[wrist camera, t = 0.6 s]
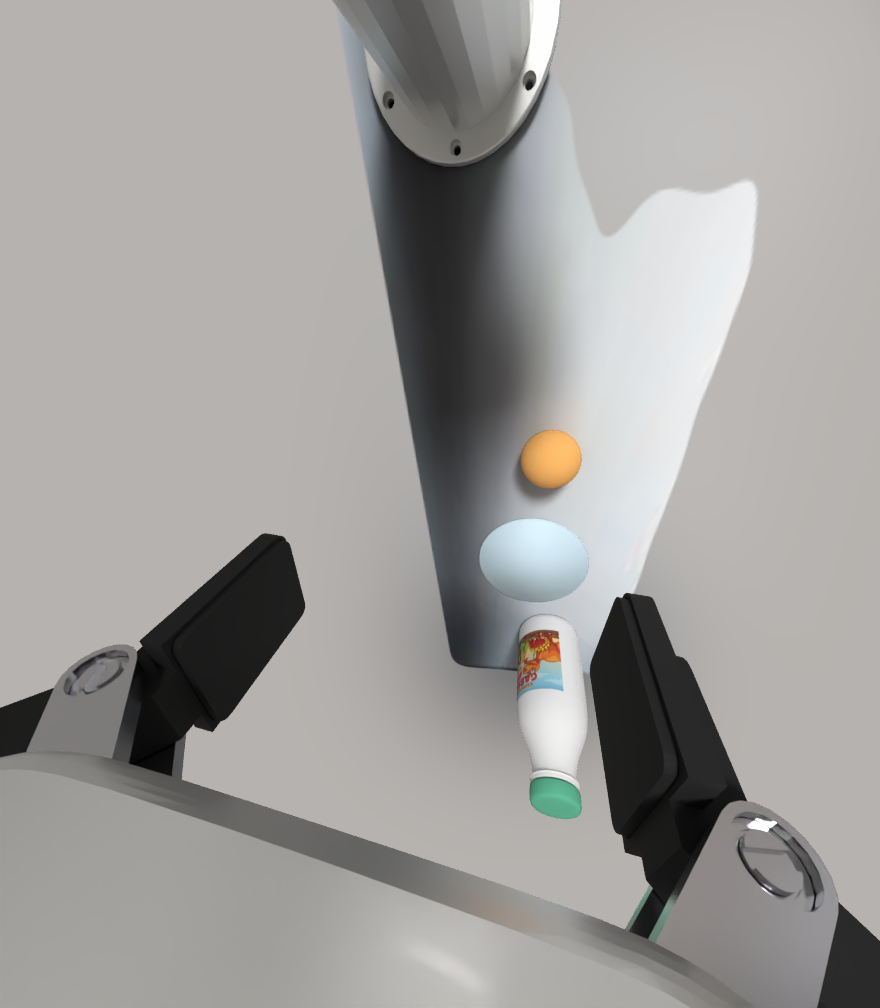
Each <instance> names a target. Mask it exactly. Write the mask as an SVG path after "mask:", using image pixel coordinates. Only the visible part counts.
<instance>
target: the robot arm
mask: <svg viewBox="0 0 880 1008" xmlns="http://www.w3.org/2000/svg"><path fill="white" fill-rule="evenodd" d="M333 2H334V3H335V5H336V6H337V8H338V9H339V11H340V12H341V13H342V15H343V16H344V18H345V19H346V21H347V22H348V24H349V25H350V27H351V28H352V29H353V31H354V32H355V34H356V35H357V37H358V38H359V40H360V41H361V42H362V44H363V46H364V53H365V60H366V66H367V72H368V76H369V79H370V83H371V87H372V90H373V94H374V96H375V99H376V101H377V103H378V106H379V108H380V110H381V113H382V115H383V117H384V118H385V120H386V121H387V123H388V125H389V126H390V128H391V129H392V131H393V132H394V134H395V135H396V136H397V137H398V138H399V140H400V141H401V142H402V143H403V144H404V145H405V146H406V147H407V148H408V149H410V150H411V151H412V152H413V153H414V154H415V155H416V156H418V157H420V158H422V159H424V160H426V161H428V162H430V163H432V164H436V165H440V166H445V167H459V166H465V165H469V164H472V163H475V162H478V161H480V160H482V159H484V158H486V157H487V156H489V155H491V154H493V153H494V152H495V151H497V150H498V149H499V148H500V147H501V146H502V145H504V144H505V143H506V142H507V141H508V140H509V139H510V138H511V137H512V136H513V135H514V133H515V132H516V131H517V130H518V128H519V127H520V126H521V125H522V124H523V122H524V121H525V119H526V118H527V116H528V114H529V113H530V111H531V109H532V108H533V106H534V104H535V103H536V101H537V99H538V96H539V94H540V92H541V89H542V87H543V85H544V82H545V80H546V78H547V75H548V72H549V68H550V65H551V61H552V58H553V54H554V51H555V47H556V41H557V35H558V28H559V22H560V14H561V0H333ZM529 82H532V83H533V88H532V89H531V90H529V91H527V90H526V89H525V87H526V85H527V83H529ZM392 101H394V105H393V107H392V108H391V109H390V103H391V102H392ZM458 147H459V148H461V153H460V154H459V155H458V156H457V155H455V150H456V148H458ZM304 610H305V601H304V598H303V594H302V590H301V586H300V582H299V578H298V574H297V570H296V566H295V562H294V558H293V555H292V551H291V547H290V544H289V543H288V542H286V539H285V538H284V537H283V536H278V535H272V534H266V533H265V534H262V535H260V536H259V537H258V538H257V539H255V540H254V541H253V542H252V543H251V544H250V545H249V546H247V547H246V548H245V549H244V550H243V551H242V552H241V553H240V554H238V555H237V556H236V557H235V558H234V559H233V560H231V561H230V562H229V563H228V564H227V565H226V566H225V567H223V568H222V569H221V570H220V571H219V572H218V573H217V574H215V575H214V576H213V577H212V578H211V579H210V580H209V581H207V582H206V583H205V584H204V585H203V586H202V587H201V588H199V589H198V590H197V591H196V592H195V593H194V594H193V595H191V596H190V597H189V598H188V599H187V600H186V601H185V602H183V603H182V604H181V605H180V606H179V607H178V608H177V609H175V610H174V611H173V612H172V613H171V614H170V615H169V616H167V617H166V618H165V619H164V620H163V621H162V622H161V623H159V624H158V625H157V626H156V627H155V628H154V629H153V630H151V631H150V632H149V633H148V634H147V635H146V636H145V637H143V638H142V639H141V640H140V643H141V644H142V646H143V647H141V648H140V649H139V650H138V651H136V650H135V649H134V647H131V646H129V645H113V646H109V647H105V648H102V649H100V650H98V651H95V652H93V653H91V654H89V655H87V656H85V657H84V658H82V659H80V660H79V661H78V662H76V663H75V664H74V665H72V666H71V667H70V668H69V669H68V670H67V671H66V672H65V673H64V674H63V675H62V676H61V677H60V679H59V680H58V682H57V684H56V685H55V687H54V688H53V689H50V690H47V691H44V692H42V693H39V694H36V695H34V696H31V697H28V698H26V699H23V700H20V701H18V702H15V703H12V704H9V705H7V706H4V707H1V708H0V1008H880V941H879V940H878V939H877V938H876V937H875V936H874V935H873V934H872V933H871V932H870V931H869V930H868V929H866V928H865V927H864V926H863V925H862V924H861V923H860V922H859V921H858V920H857V919H856V918H855V917H854V916H853V915H852V914H850V913H849V912H848V911H847V910H846V909H845V908H844V907H843V906H842V905H841V904H840V903H839V902H838V895H837V892H836V889H835V886H834V883H833V880H832V877H831V876H830V874H829V872H828V870H827V868H826V867H825V865H824V863H823V861H822V860H821V858H820V856H819V855H818V854H817V853H816V851H815V850H814V849H813V848H812V847H811V845H810V844H809V843H808V841H807V840H806V839H805V838H804V837H803V836H802V835H801V834H800V833H799V832H798V831H797V830H796V829H795V828H794V827H792V826H791V825H790V824H789V823H788V822H787V821H786V820H784V819H782V818H781V817H780V816H778V815H777V814H776V813H774V812H773V811H771V810H769V809H767V808H765V807H763V806H760V805H758V804H756V803H753V802H747V800H746V797H745V795H744V793H743V790H742V788H741V786H740V783H739V781H738V778H737V776H736V774H735V771H734V769H733V767H732V764H731V762H730V760H729V757H728V755H727V752H726V750H725V748H724V745H723V743H722V741H721V738H720V736H719V733H718V731H717V729H716V727H715V724H714V722H713V719H712V717H711V715H710V712H709V710H708V707H707V705H706V703H705V700H704V698H703V696H702V693H701V691H700V689H699V686H698V684H697V681H696V679H695V677H694V674H693V672H692V669H691V668H690V666H689V664H688V662H687V661H686V660H685V659H684V658H682V657H679V656H676V655H675V653H674V650H673V648H672V645H671V643H670V640H669V637H668V635H667V632H666V630H665V627H664V625H663V622H662V620H661V617H660V615H659V612H658V609H657V607H656V604H655V602H654V600H653V598H651V597H649V596H643V595H636V594H630V593H625V594H624V596H623V598H620V597H617V598H616V599H615V601H614V603H613V606H612V609H611V611H610V614H609V616H608V619H607V622H606V624H605V627H604V629H603V632H602V635H601V637H600V640H599V642H598V645H597V648H596V650H595V653H594V656H593V658H592V661H591V665H590V677H591V684H592V691H593V697H594V704H595V711H596V717H597V724H598V731H599V737H600V745H601V751H602V758H603V765H604V771H605V778H606V785H607V791H608V798H609V805H610V812H611V818H612V824H613V827H614V830H615V832H616V833H618V834H621V835H622V837H623V843H624V849H625V852H626V853H629V854H632V855H635V856H639V857H642V861H643V867H644V872H645V877H646V880H647V882H648V883H649V884H650V886H649V887H648V889H647V891H646V893H645V895H644V896H643V898H642V900H641V902H640V903H639V905H638V907H637V909H636V910H635V912H634V914H633V916H632V918H631V920H630V921H629V923H628V925H627V927H626V928H625V930H624V929H622V928H619V927H617V926H615V925H612V924H609V923H607V922H605V921H603V920H600V919H597V918H595V917H592V916H589V915H586V914H583V913H580V912H578V911H575V910H572V909H569V908H566V907H563V906H561V905H558V904H555V903H552V902H549V901H546V900H544V899H541V898H538V897H535V896H533V895H530V894H527V893H524V892H521V891H518V890H516V889H513V888H510V887H507V886H504V885H501V884H498V883H495V882H492V881H489V880H486V879H483V878H480V877H477V876H474V875H471V874H468V873H465V872H462V871H459V870H456V869H453V868H450V867H447V866H444V865H441V864H438V863H435V862H432V861H429V860H426V859H423V858H420V857H417V856H414V855H411V854H408V853H405V852H402V851H399V850H396V849H393V848H390V847H387V846H384V845H381V844H378V843H374V842H372V841H368V840H365V839H362V838H359V837H356V836H353V835H350V834H347V833H344V832H341V831H338V830H335V829H332V828H329V827H326V826H323V825H320V824H317V823H314V822H310V821H307V820H304V819H301V818H298V817H295V816H292V815H289V814H286V813H283V812H280V811H277V810H273V809H271V808H268V807H264V806H261V805H258V804H255V803H252V802H249V801H246V800H243V799H240V798H236V797H233V796H230V795H227V794H224V793H221V792H218V791H215V790H212V789H209V788H205V787H202V786H199V785H196V784H193V783H189V782H187V781H184V780H182V769H183V759H184V749H185V739H186V733H187V731H188V730H189V729H190V728H191V727H192V725H193V724H194V726H195V727H197V728H201V729H204V730H207V731H211V732H213V731H214V729H215V728H216V727H217V725H218V724H219V723H220V721H223V720H225V719H226V718H228V717H229V715H230V714H231V713H232V712H233V710H234V709H235V707H236V706H237V705H238V703H239V702H240V701H241V699H242V698H243V696H244V695H245V693H246V692H247V691H248V690H249V688H250V687H251V685H252V684H253V683H254V681H255V680H256V679H257V677H258V676H259V674H260V673H261V672H262V670H263V669H264V667H265V666H266V665H267V663H268V662H269V661H270V659H271V658H272V656H273V655H274V654H275V652H276V651H277V649H278V648H279V647H280V645H281V644H282V643H283V641H284V640H285V638H286V637H287V636H288V634H289V633H290V632H291V630H292V629H293V627H294V626H295V625H296V623H297V622H298V620H299V619H300V618H301V616H302V615H303V613H304Z"/></svg>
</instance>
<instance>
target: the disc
mask: <svg viewBox="0 0 880 1008" xmlns="http://www.w3.org/2000/svg"><path fill="white" fill-rule="evenodd" d="M479 560H480V567H481V570H482V572H483V574H484V576H485V578H486V579H487V580H488V582H489V583H490V584H491V585H492V586H493V587H495V588H496V589H497V590H498V591H500V592H501V593H503V594H505V595H507V596H509V597H512V598H515V599H518V600H522V601H528V602H547V601H552V600H556V599H559V598H562V597H564V596H566V595H568V594H570V593H572V592H573V591H574V590H576V589H577V588H578V587H579V586H580V585H581V583H582V582H583V581H584V579H585V577H586V575H587V572H588V568H589V558H588V553H587V550H586V548H585V546H584V544H583V542H582V541H581V540H580V539H579V537H578V536H577V535H576V534H574V533H573V532H572V531H571V530H569V529H568V528H566V527H564V526H562V525H560V524H558V523H555V522H552V521H549V520H544V519H535V518H528V519H519V520H514V521H511V522H508V523H505V524H503V525H501V526H499V527H498V528H496V529H495V530H494V531H492V532H491V533H490V534H489V535H488V536H487V538H486V539H485V541H484V542H483V544H482V547H481V550H480V556H479Z"/></svg>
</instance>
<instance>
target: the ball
mask: <svg viewBox="0 0 880 1008" xmlns="http://www.w3.org/2000/svg"><path fill="white" fill-rule="evenodd" d="M581 461H582V455H581V450H580V447H579V445H578V444H577V442H576V441H575V440H574V439H573V438H572V437H571V436H570V435H568V434H567V433H565V432H562V431H558V430H547V431H543V432H540V433H538V434H536V435H534V436H533V437H532V438H531V439H529V441H528V442H527V443H526V445H525V446H524V448H523V451H522V454H521V467H522V470H523V472H524V474H525V476H526V477H527V479H528V480H529V481H531V482H532V483H533V484H535V485H537V486H539V487H542V488H548V489H552V488H558V487H561V486H564V485H566V484H567V483H569V482H570V481H571V480H572V479H573V478H574V477H575V476H576V475H577V473H578V471H579V469H580V466H581Z"/></svg>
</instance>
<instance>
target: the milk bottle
mask: <svg viewBox="0 0 880 1008" xmlns="http://www.w3.org/2000/svg"><path fill="white" fill-rule="evenodd" d="M517 713H518V721H519V726H520V730H521V733H522V735H523V738H524V741H525V743H526V746H527V748H528V752H529V755H530V759H531V764H532V774H531V775H530V781H531V783H530V801H531V805H532V806H533V807H534V808H535V809H536V810H537V811H539V812H541V813H543V814H545V815H547V816H551V817H555V818H560V819H572V818H575V817H578V816H579V815H580V814H581V810H582V806H581V795H580V792H579V789H580V785H579V783H578V782H577V780H576V772H577V765H578V761H579V757H580V754H581V751H582V748H583V745H584V742H585V739H586V734H587V706H586V697H585V688H584V681H583V672H582V664H581V656H580V648H579V641H578V635H577V632H576V630H575V628H574V627H573V626H572V625H571V624H570V623H569V622H568V621H567V620H565V619H563V618H561V617H558V616H554V615H546V614H544V615H537V616H533V617H531V618H529V619H527V620H526V621H525V622H524V623H523V625H522V626H521V628H520V634H519V653H518V681H517Z"/></svg>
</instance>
